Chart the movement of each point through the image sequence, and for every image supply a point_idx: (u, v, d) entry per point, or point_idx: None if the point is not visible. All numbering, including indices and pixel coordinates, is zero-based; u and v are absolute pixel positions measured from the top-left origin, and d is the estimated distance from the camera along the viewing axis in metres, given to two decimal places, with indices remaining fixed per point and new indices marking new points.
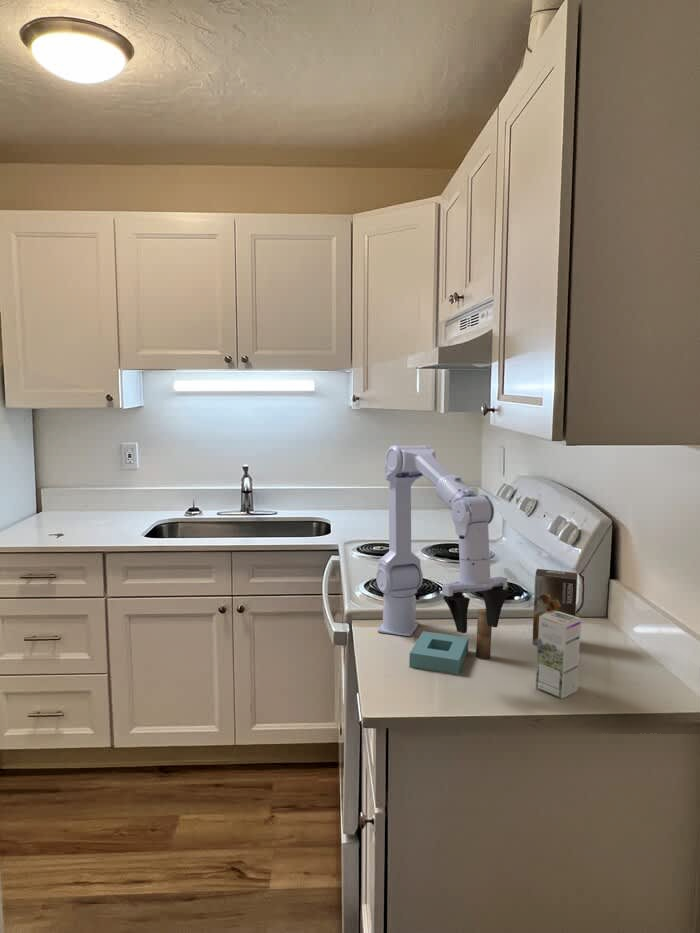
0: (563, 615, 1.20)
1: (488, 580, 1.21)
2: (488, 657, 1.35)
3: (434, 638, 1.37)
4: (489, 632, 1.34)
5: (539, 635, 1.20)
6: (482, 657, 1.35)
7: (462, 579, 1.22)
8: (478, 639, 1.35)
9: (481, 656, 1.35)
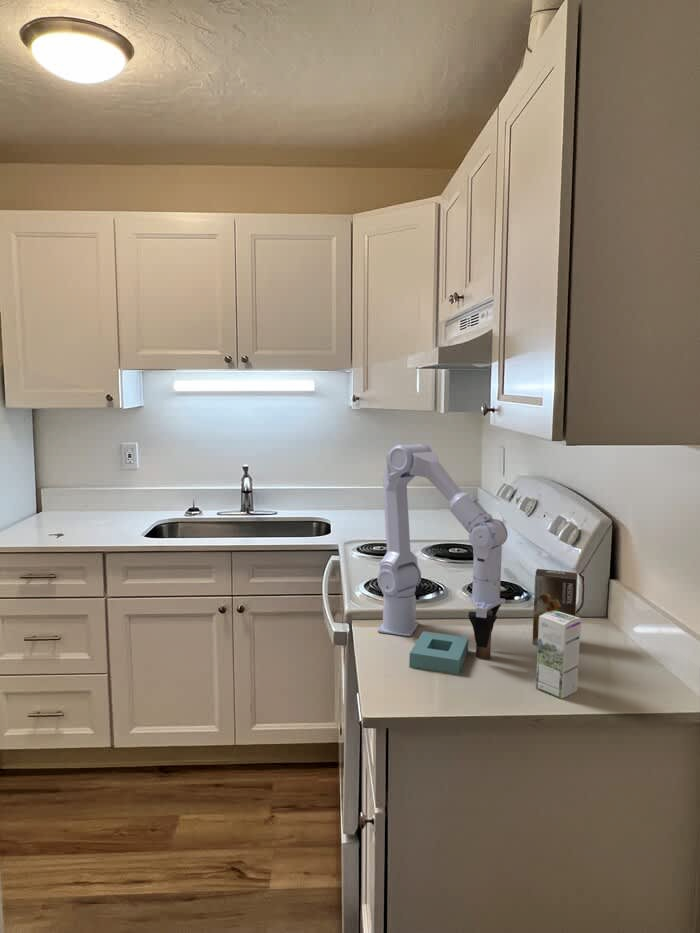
0: (563, 615, 1.20)
1: None
2: (488, 657, 1.35)
3: (434, 638, 1.37)
4: None
5: (539, 635, 1.20)
6: (482, 657, 1.35)
7: (482, 598, 1.32)
8: None
9: (481, 656, 1.35)
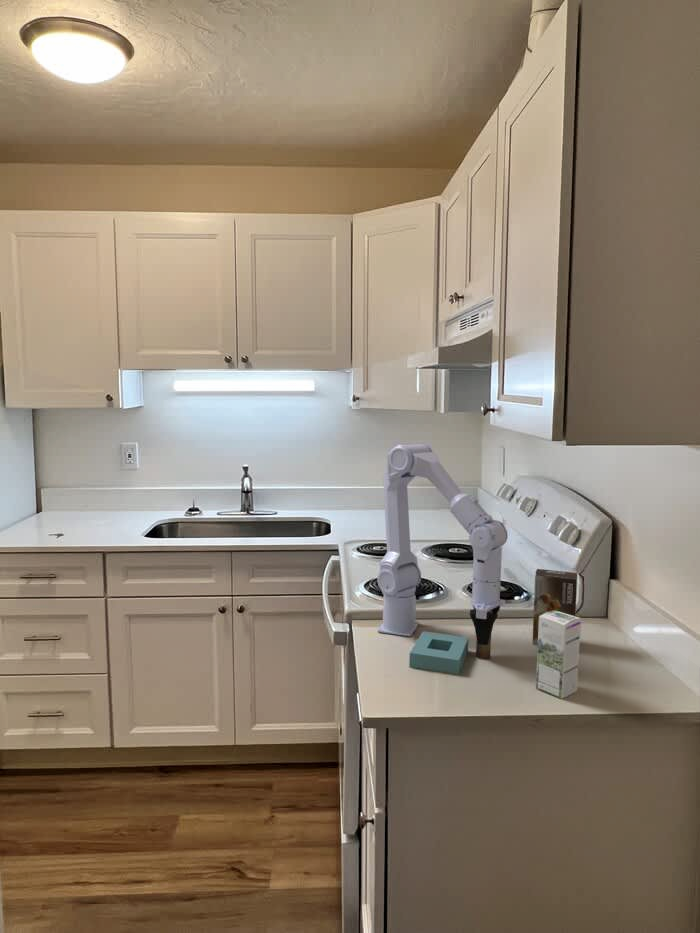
0: (563, 615, 1.20)
1: None
2: (488, 657, 1.35)
3: (434, 638, 1.37)
4: None
5: (539, 635, 1.20)
6: (482, 657, 1.35)
7: (482, 599, 1.32)
8: None
9: (481, 656, 1.35)
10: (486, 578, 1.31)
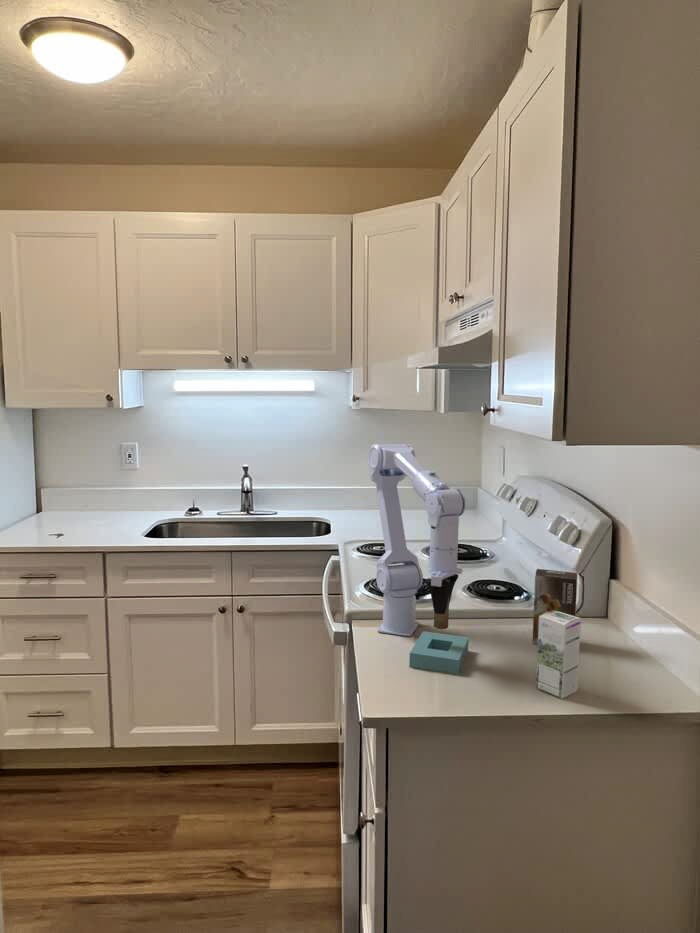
0: (563, 615, 1.20)
1: None
2: (445, 627, 1.32)
3: (434, 638, 1.37)
4: None
5: (539, 635, 1.20)
6: (439, 627, 1.32)
7: (438, 568, 1.30)
8: None
9: (438, 626, 1.32)
10: (437, 545, 1.30)
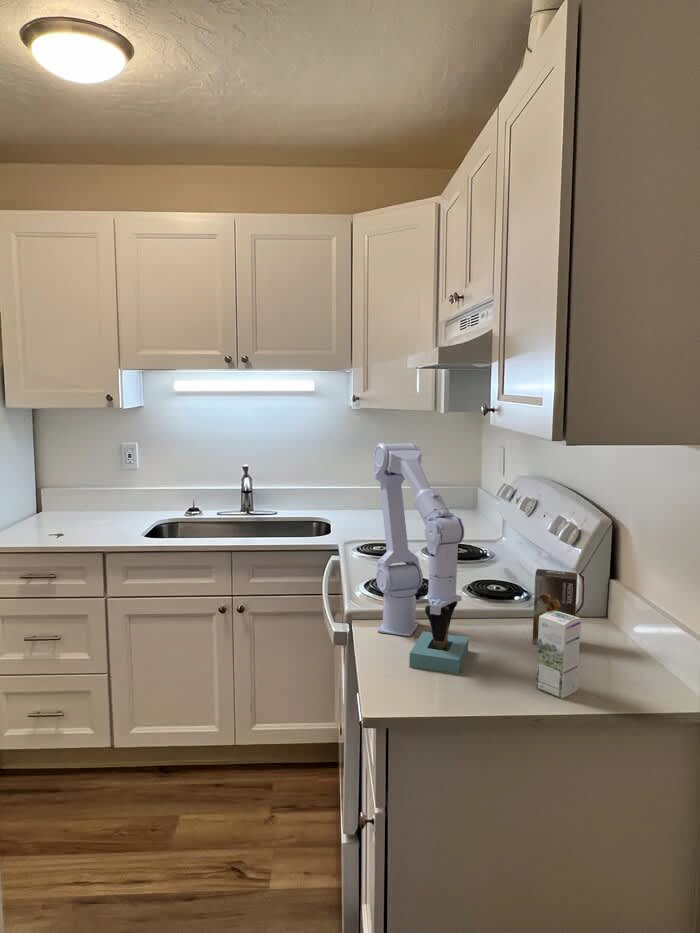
0: (563, 615, 1.20)
1: None
2: None
3: None
4: None
5: (539, 635, 1.20)
6: None
7: (437, 595, 1.30)
8: None
9: None
10: (436, 573, 1.30)
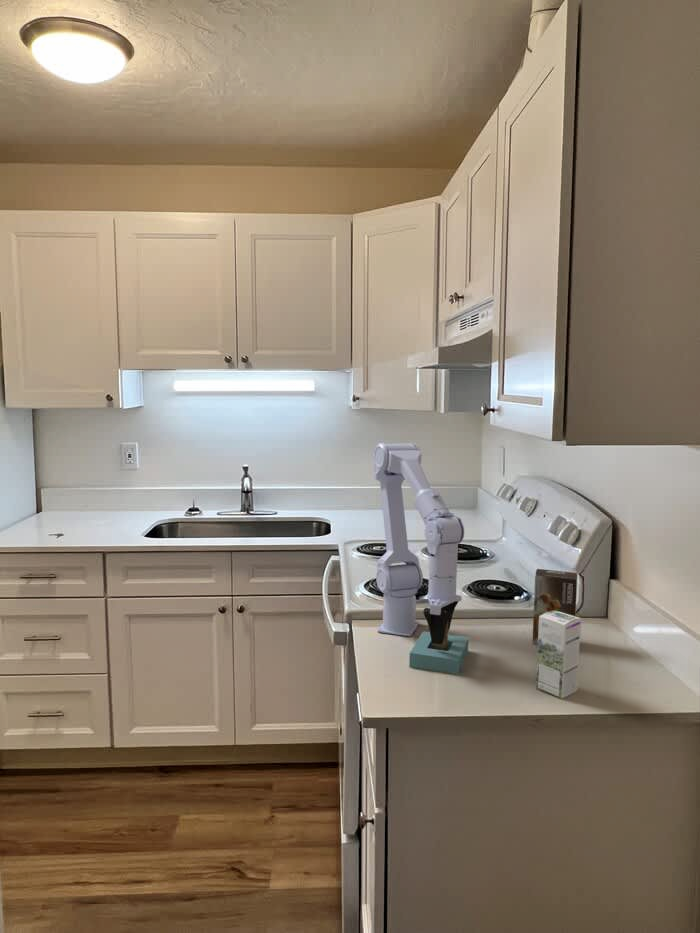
0: (563, 615, 1.20)
1: None
2: None
3: None
4: (445, 634, 1.33)
5: (539, 635, 1.20)
6: None
7: (437, 595, 1.30)
8: None
9: None
10: (436, 573, 1.30)
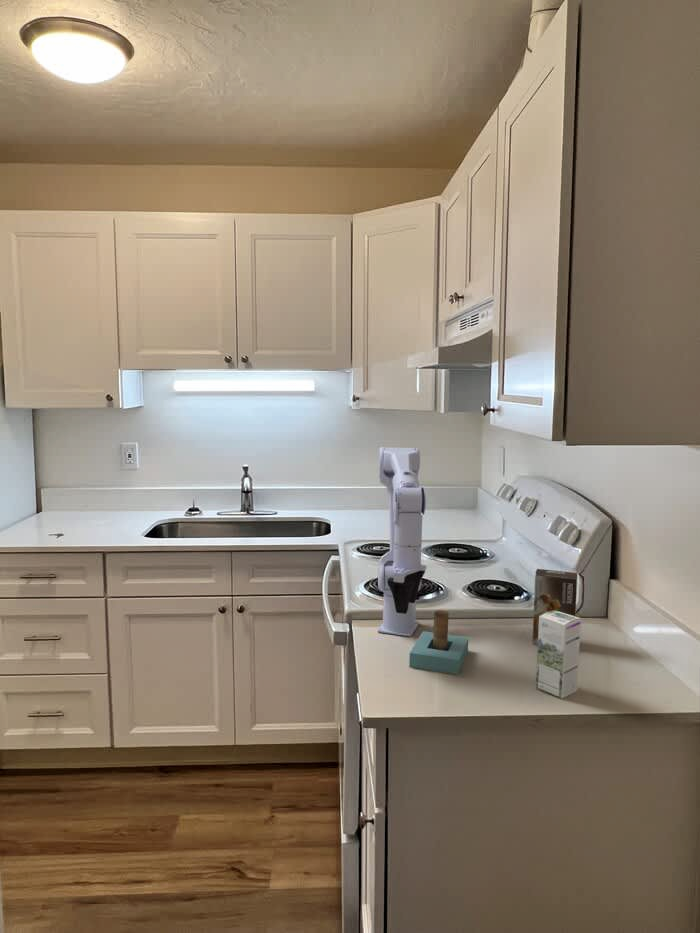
0: (563, 615, 1.20)
1: None
2: None
3: None
4: (445, 634, 1.33)
5: (539, 635, 1.20)
6: None
7: (402, 564, 1.31)
8: (434, 641, 1.33)
9: None
10: (396, 541, 1.32)
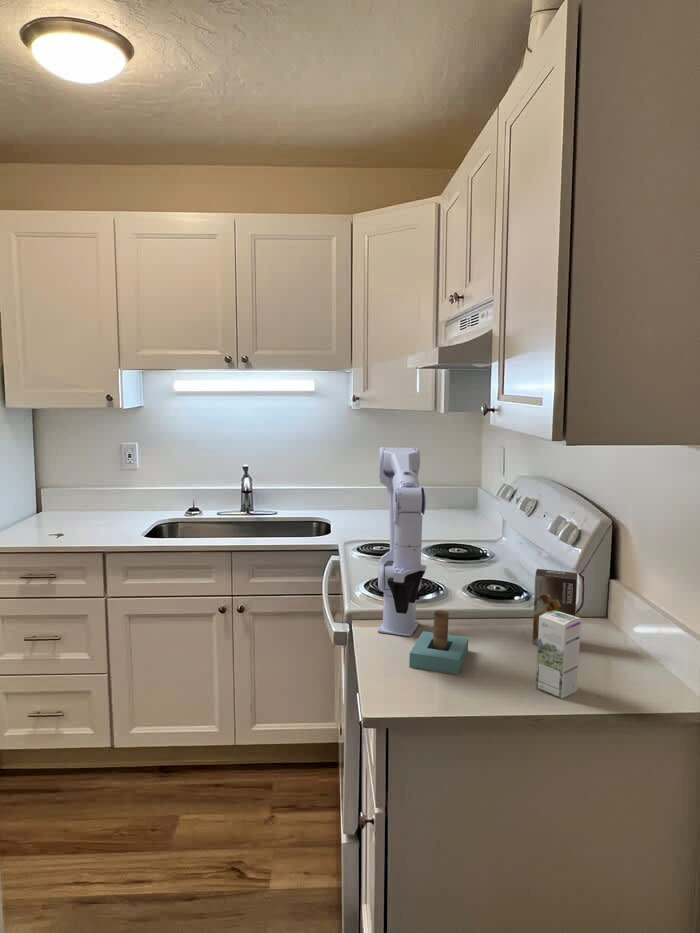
0: (563, 615, 1.20)
1: None
2: None
3: None
4: (445, 634, 1.33)
5: (539, 635, 1.20)
6: None
7: (402, 564, 1.31)
8: (434, 641, 1.33)
9: None
10: (396, 541, 1.32)
